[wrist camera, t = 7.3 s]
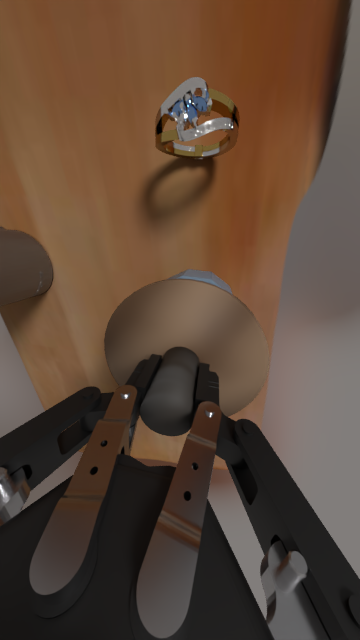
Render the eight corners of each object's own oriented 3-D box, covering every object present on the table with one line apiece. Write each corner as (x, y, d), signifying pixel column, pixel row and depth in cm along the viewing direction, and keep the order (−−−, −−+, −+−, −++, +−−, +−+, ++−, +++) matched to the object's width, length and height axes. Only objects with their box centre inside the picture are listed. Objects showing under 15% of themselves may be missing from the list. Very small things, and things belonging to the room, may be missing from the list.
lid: (87, 362, 18) (32, 413, 12) (159, 238, 12) (117, 236, 7) (197, 434, 19) (190, 510, 14) (306, 351, 13) (365, 421, 8)
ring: (166, 173, 21) (140, 136, 13) (167, 135, 19) (138, 70, 12) (230, 174, 20) (240, 135, 12) (236, 134, 18) (250, 65, 11)
